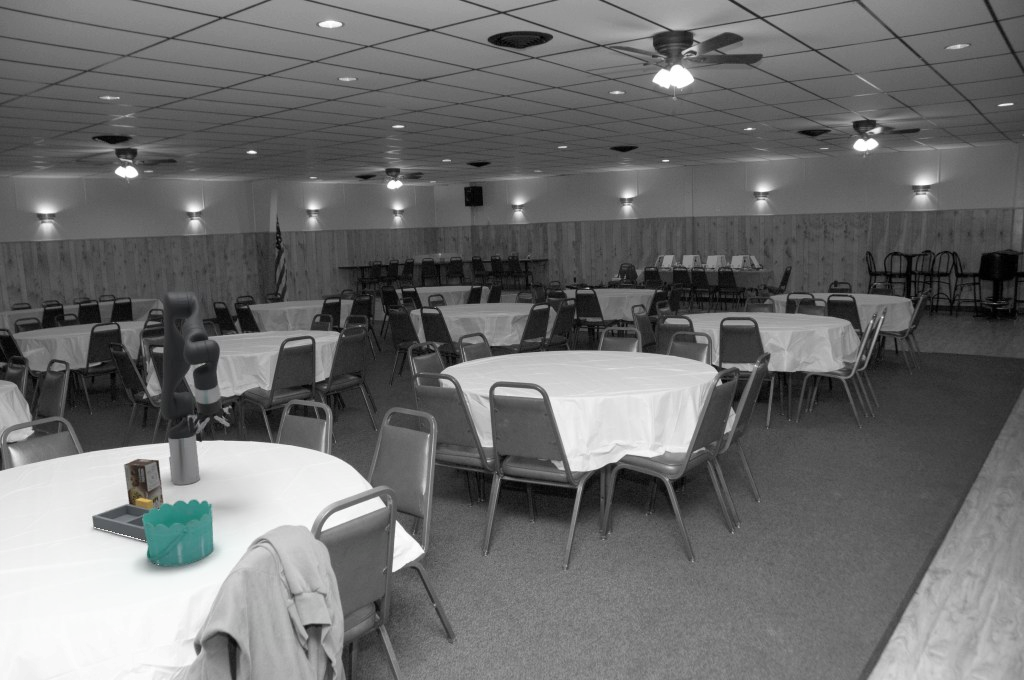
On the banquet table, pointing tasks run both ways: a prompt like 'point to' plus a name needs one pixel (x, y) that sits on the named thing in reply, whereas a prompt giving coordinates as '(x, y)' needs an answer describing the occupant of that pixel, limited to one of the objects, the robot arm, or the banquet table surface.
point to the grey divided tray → (125, 519)
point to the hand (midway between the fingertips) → (213, 437)
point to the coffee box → (144, 481)
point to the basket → (179, 532)
